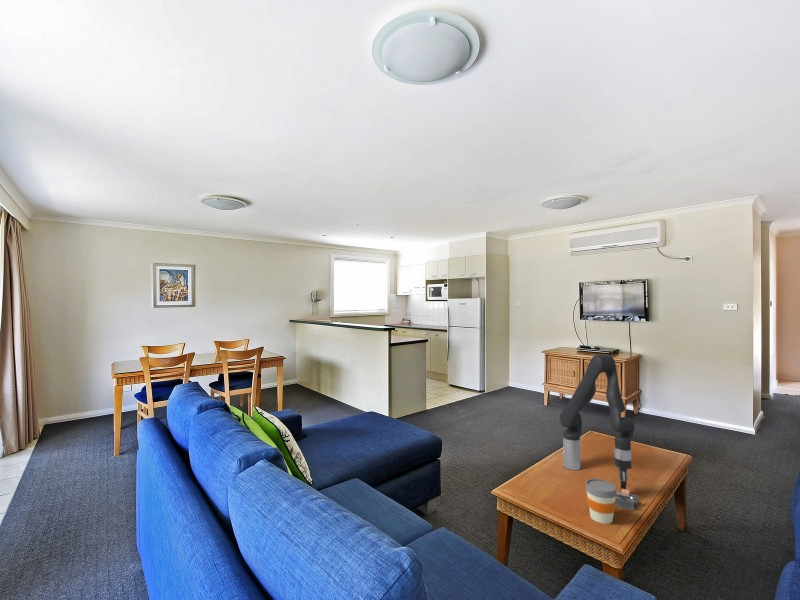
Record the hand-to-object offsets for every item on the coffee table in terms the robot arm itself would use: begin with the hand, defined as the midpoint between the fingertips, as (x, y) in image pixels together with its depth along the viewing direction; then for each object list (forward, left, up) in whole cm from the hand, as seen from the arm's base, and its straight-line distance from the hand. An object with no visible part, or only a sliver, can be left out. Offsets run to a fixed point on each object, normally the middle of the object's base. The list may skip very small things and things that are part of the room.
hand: (623, 491), depth 192 cm
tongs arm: (-3, -9, -2) cm, 9 cm away
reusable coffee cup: (-11, -27, -2) cm, 29 cm away
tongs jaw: (-4, -13, -2) cm, 14 cm away
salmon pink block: (0, -6, -2) cm, 7 cm away
